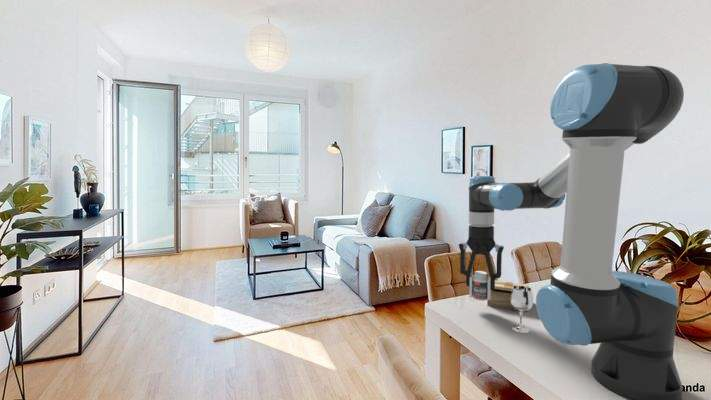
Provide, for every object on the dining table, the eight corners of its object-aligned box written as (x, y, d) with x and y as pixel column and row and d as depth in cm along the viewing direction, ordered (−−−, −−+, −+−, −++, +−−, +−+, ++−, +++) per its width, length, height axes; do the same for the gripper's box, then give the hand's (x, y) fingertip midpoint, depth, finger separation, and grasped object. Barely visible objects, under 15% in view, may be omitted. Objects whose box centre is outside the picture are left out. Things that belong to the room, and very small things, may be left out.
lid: (528, 293, 111) (528, 290, 111) (487, 287, 116) (487, 285, 116) (528, 286, 120) (528, 284, 120) (491, 281, 125) (491, 279, 125)
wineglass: (505, 328, 100) (507, 288, 99) (515, 322, 104) (516, 283, 102) (526, 336, 96) (528, 293, 94) (535, 329, 99) (537, 288, 98)
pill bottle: (472, 300, 111) (472, 274, 110) (472, 295, 115) (472, 270, 115) (488, 301, 109) (488, 275, 109) (487, 296, 114) (488, 271, 113)
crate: (527, 311, 111) (528, 296, 111) (487, 305, 117) (487, 290, 116) (527, 301, 120) (528, 286, 120) (490, 295, 126) (491, 281, 125)
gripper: (512, 225, 110) (511, 297, 111) (454, 222, 118) (454, 289, 120) (511, 228, 103) (509, 305, 105) (450, 225, 111) (449, 296, 113)
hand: (480, 297), depth 112 cm, fingers closed on pill bottle, 5 cm apart
